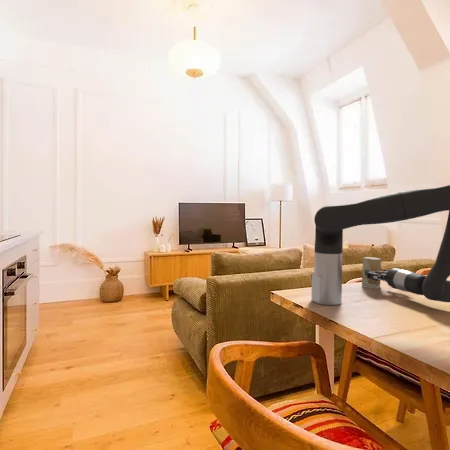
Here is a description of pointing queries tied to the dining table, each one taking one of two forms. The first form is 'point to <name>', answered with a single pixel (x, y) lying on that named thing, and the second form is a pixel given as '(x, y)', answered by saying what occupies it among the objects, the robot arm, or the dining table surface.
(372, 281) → the skincare box
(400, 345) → the dining table surface
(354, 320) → the dining table surface
